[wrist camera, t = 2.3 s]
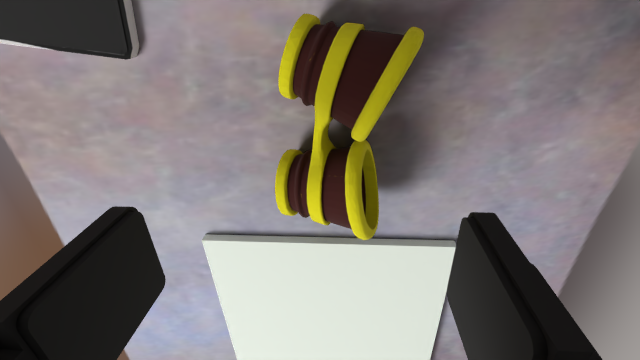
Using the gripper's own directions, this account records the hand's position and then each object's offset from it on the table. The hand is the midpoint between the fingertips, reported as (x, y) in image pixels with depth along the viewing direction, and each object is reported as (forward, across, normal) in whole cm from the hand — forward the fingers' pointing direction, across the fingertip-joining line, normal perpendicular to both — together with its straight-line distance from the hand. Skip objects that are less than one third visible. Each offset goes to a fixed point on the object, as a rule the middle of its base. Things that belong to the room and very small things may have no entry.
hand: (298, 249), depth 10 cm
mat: (+9, 0, +15) cm, 17 cm away
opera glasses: (+9, -1, -1) cm, 9 cm away
